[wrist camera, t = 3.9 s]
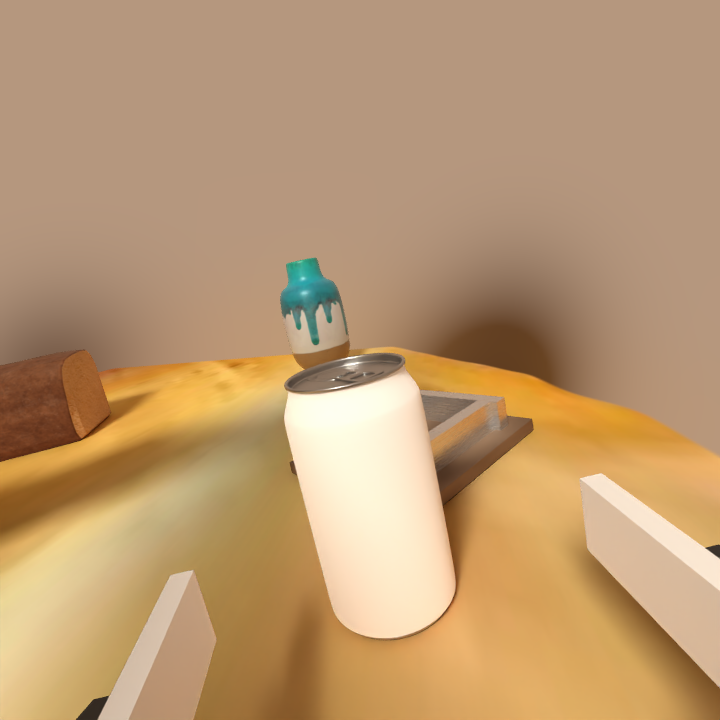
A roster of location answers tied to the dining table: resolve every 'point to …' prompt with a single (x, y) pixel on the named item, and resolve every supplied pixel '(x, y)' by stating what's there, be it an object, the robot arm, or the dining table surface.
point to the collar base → (476, 456)
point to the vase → (313, 315)
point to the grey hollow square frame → (460, 422)
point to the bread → (49, 402)
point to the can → (371, 493)
